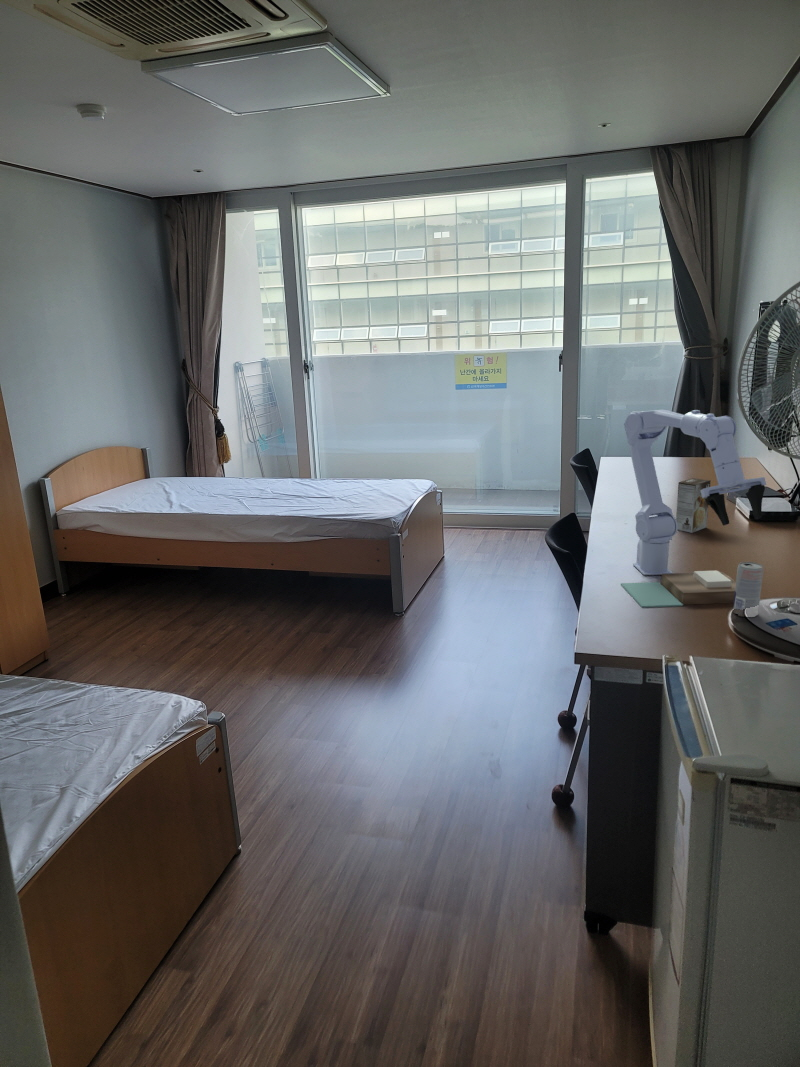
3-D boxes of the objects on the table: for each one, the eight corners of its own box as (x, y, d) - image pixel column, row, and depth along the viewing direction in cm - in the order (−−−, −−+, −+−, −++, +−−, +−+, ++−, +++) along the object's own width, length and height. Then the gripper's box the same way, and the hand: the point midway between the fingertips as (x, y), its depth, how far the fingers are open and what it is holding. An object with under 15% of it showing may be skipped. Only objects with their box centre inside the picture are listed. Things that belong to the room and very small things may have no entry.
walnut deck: (660, 584, 189) (661, 573, 188) (721, 582, 189) (722, 571, 189) (682, 604, 176) (683, 592, 175) (747, 602, 176) (748, 590, 175)
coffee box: (689, 524, 244) (693, 477, 239) (707, 527, 239) (711, 480, 235) (674, 529, 238) (678, 481, 234) (692, 533, 234) (696, 484, 229)
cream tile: (693, 576, 186) (693, 571, 185) (716, 575, 186) (716, 570, 185) (706, 587, 178) (707, 581, 178) (730, 586, 178) (731, 581, 178)
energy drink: (750, 609, 172) (756, 561, 169) (762, 617, 167) (768, 568, 163) (728, 609, 172) (733, 562, 168) (739, 618, 167) (745, 569, 163)
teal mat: (620, 584, 190) (620, 583, 190) (658, 583, 190) (658, 582, 190) (641, 607, 175) (641, 605, 175) (682, 606, 175) (682, 604, 175)
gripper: (703, 467, 167) (718, 524, 164) (765, 455, 166) (781, 512, 164) (692, 474, 173) (706, 529, 171) (751, 463, 173) (766, 517, 171)
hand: (742, 521), depth 168 cm, fingers open, 7 cm apart
